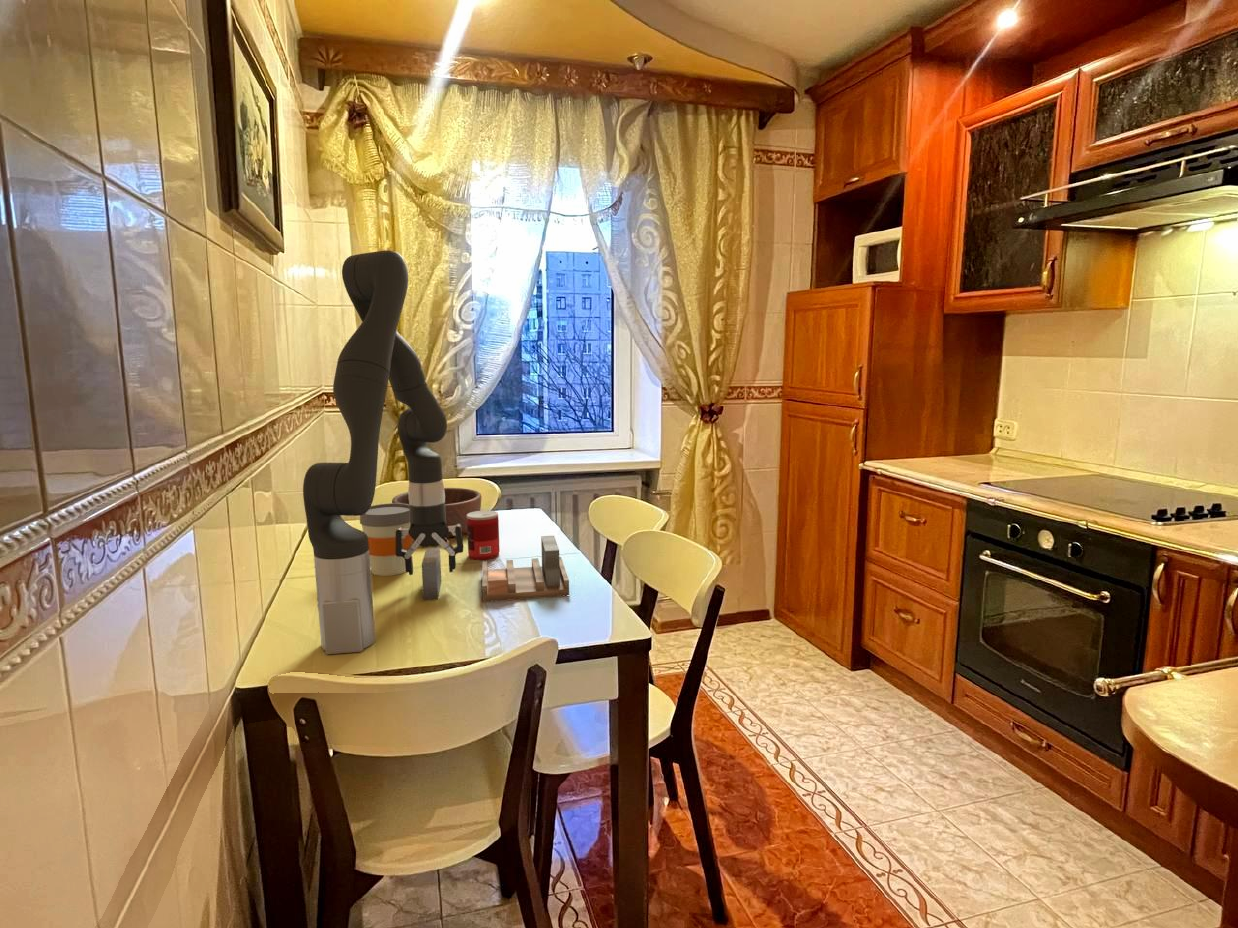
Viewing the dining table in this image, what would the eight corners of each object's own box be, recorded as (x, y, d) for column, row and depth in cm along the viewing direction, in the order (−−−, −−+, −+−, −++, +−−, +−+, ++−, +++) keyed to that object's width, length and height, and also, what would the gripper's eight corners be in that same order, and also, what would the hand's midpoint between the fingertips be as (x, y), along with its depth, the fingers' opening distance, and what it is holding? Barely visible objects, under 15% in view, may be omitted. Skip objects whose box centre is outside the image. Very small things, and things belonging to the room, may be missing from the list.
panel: (438, 599, 153) (436, 563, 151) (423, 600, 152) (421, 564, 151) (441, 581, 164) (439, 547, 163) (428, 582, 164) (426, 548, 162)
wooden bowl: (410, 520, 221) (408, 487, 219) (491, 520, 220) (489, 487, 218) (380, 542, 197) (378, 506, 195) (471, 542, 196) (469, 506, 194)
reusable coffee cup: (402, 579, 166) (398, 516, 163) (352, 576, 168) (348, 514, 165) (427, 563, 178) (423, 504, 175) (380, 560, 180) (376, 502, 178)
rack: (569, 595, 154) (568, 553, 152) (482, 601, 151) (481, 558, 149) (561, 571, 171) (560, 532, 169) (483, 576, 167) (481, 536, 166)
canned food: (505, 553, 185) (504, 512, 183) (485, 562, 178) (483, 518, 176) (483, 549, 189) (481, 508, 187) (462, 557, 182) (460, 515, 180)
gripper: (390, 506, 150) (395, 580, 153) (460, 502, 153) (464, 575, 156) (394, 498, 157) (399, 569, 160) (461, 495, 160) (464, 564, 163)
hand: (431, 572), depth 158 cm, fingers open, 8 cm apart
